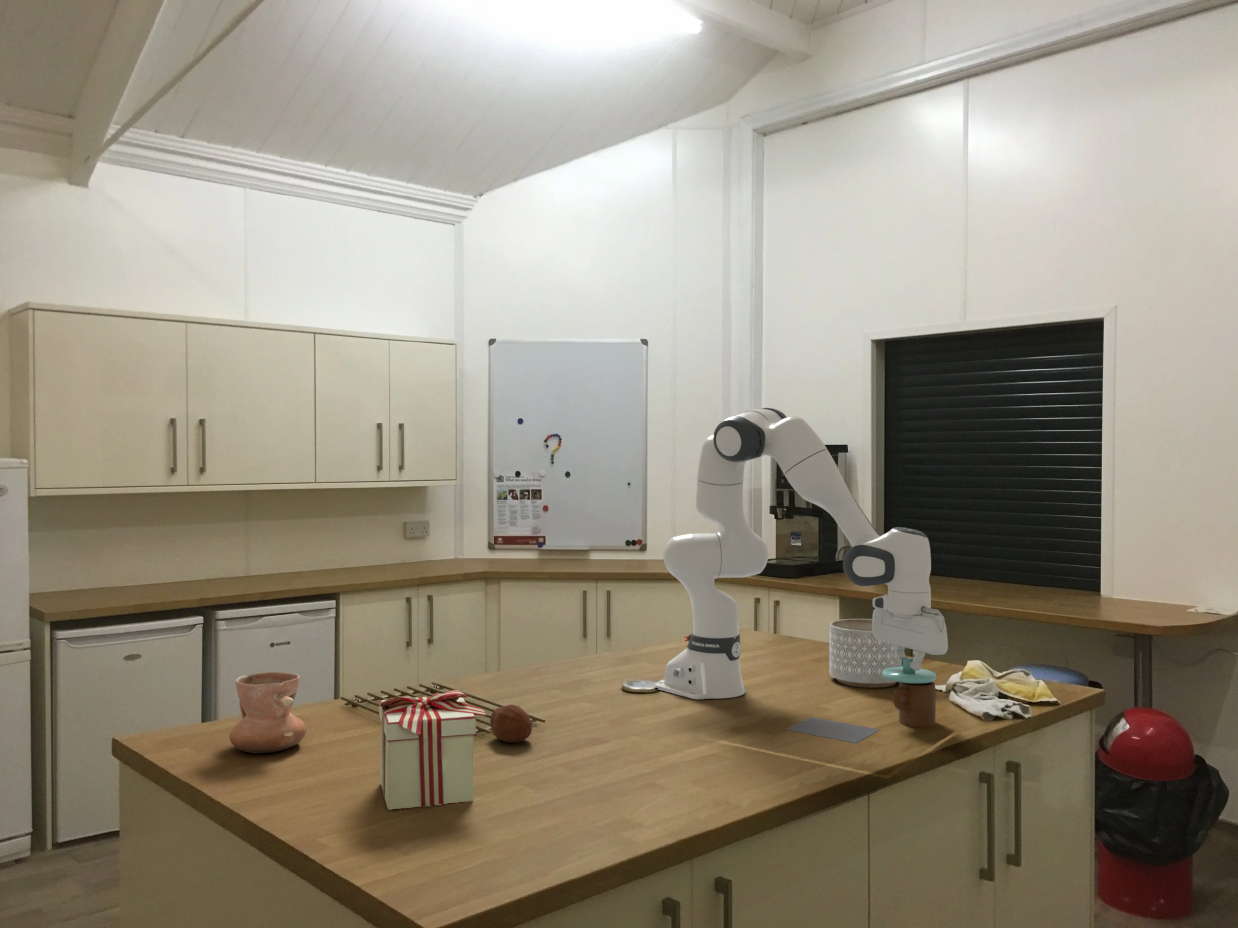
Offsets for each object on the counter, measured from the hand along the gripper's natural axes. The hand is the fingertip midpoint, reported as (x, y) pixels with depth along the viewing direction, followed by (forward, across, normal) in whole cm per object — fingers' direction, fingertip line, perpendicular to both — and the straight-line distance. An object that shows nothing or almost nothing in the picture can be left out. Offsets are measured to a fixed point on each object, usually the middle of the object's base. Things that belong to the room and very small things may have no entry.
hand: (909, 668), depth 212 cm
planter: (+13, +38, -19) cm, 44 cm away
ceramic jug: (+13, +42, +127) cm, 134 cm away
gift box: (+13, +1, +103) cm, 104 cm away
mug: (+13, 0, 0) cm, 13 cm away
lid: (+2, 0, 0) cm, 2 cm away
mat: (+13, +3, +17) cm, 22 cm away
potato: (+13, +25, +81) cm, 86 cm away
